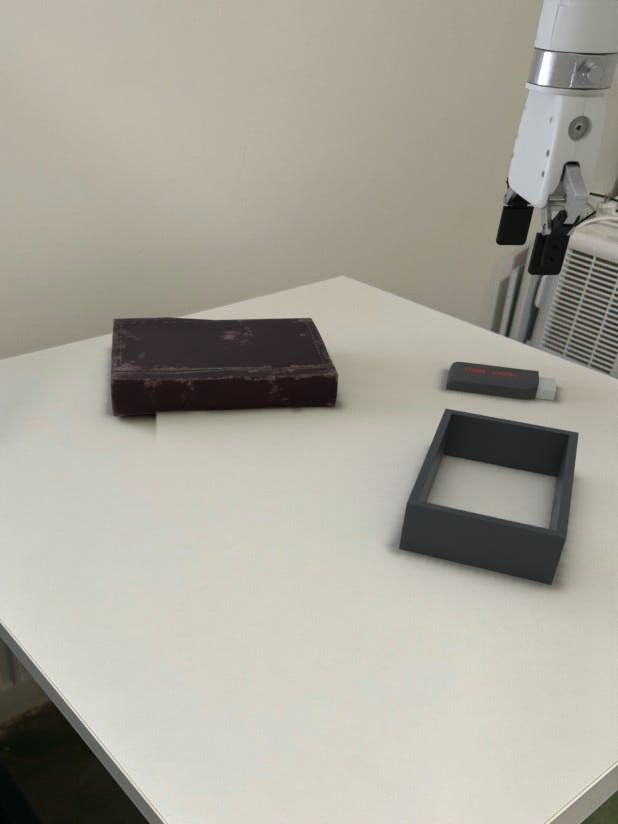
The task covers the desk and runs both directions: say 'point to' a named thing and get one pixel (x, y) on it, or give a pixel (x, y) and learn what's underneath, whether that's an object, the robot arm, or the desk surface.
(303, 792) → the desk surface
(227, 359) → the diary
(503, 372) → the usb drive
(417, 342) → the desk surface
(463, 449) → the tub
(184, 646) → the desk surface
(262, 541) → the desk surface
